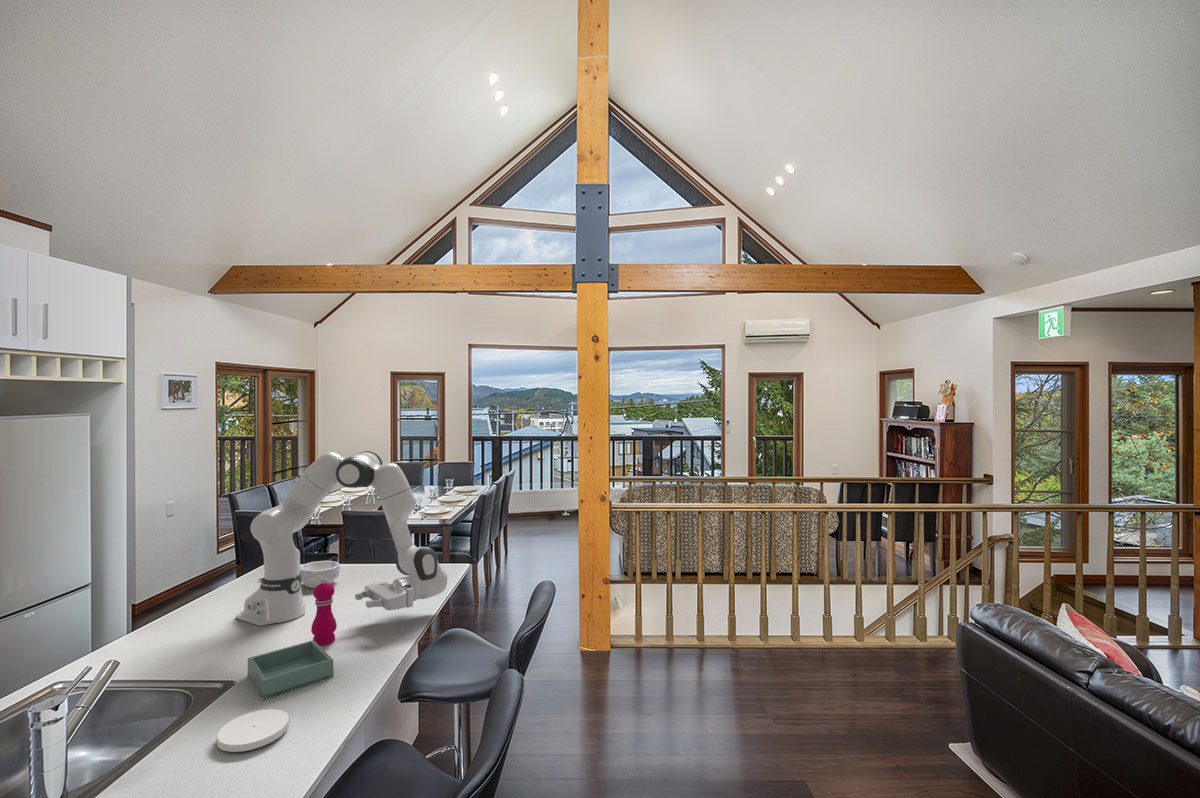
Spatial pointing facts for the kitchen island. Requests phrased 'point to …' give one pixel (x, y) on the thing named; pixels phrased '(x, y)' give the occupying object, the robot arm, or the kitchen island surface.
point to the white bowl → (319, 572)
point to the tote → (289, 668)
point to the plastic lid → (252, 730)
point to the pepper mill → (324, 614)
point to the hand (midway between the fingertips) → (361, 601)
